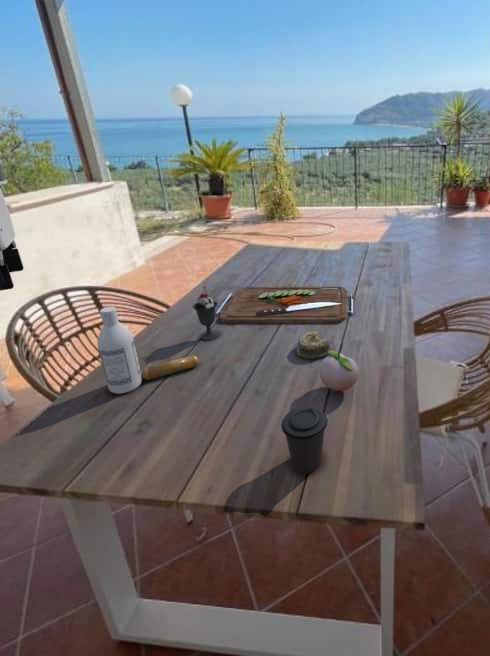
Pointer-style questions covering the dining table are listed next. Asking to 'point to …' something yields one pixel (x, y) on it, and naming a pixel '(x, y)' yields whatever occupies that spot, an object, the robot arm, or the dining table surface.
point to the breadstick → (169, 367)
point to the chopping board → (286, 305)
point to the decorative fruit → (338, 371)
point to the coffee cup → (305, 437)
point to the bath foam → (118, 354)
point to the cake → (313, 346)
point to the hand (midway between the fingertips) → (7, 280)
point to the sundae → (206, 314)
